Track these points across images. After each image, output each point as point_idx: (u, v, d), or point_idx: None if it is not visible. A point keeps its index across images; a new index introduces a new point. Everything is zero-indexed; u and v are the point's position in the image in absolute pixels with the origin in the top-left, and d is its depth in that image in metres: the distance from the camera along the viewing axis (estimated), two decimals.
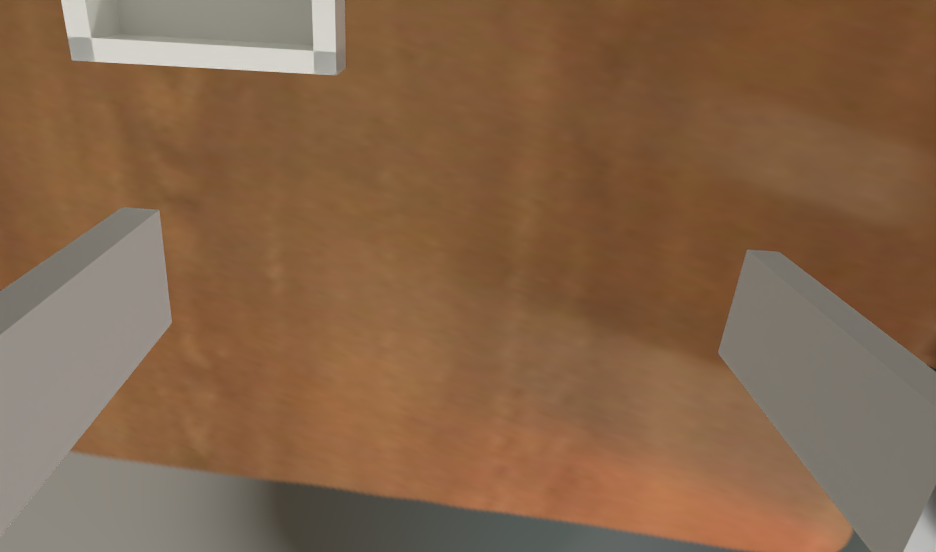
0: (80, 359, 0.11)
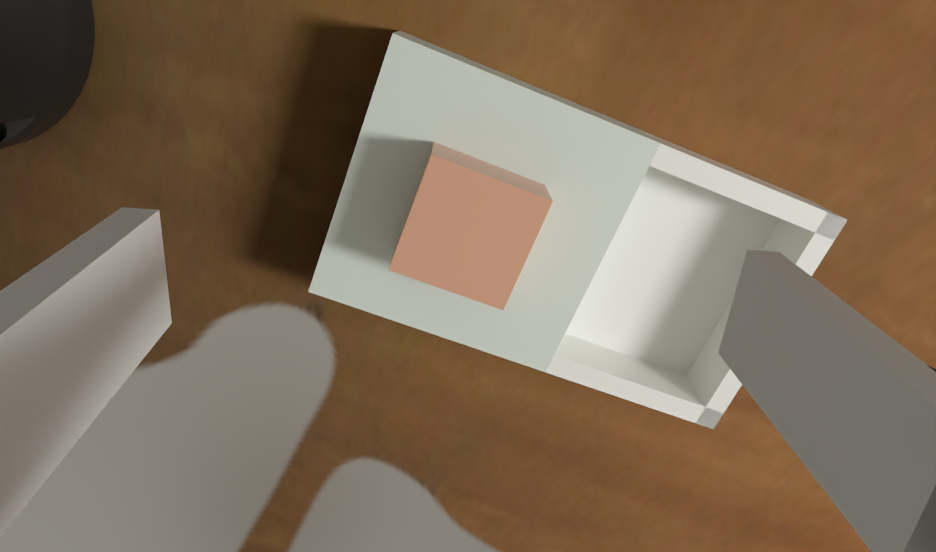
0: (80, 359, 0.11)
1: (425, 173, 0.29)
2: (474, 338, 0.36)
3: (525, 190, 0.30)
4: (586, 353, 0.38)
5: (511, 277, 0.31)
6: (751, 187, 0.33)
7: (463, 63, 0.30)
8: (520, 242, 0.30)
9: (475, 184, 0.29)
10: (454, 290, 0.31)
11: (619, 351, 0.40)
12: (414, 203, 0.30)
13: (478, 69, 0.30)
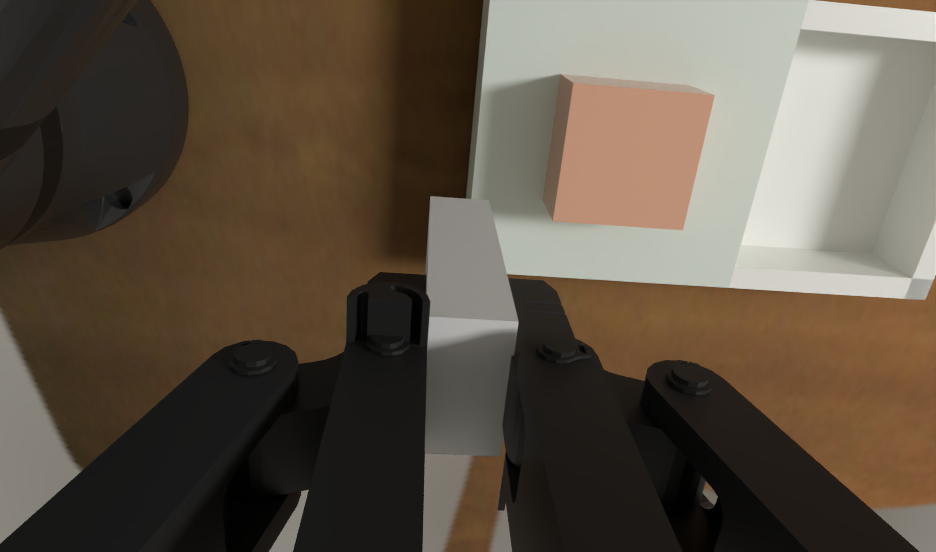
0: None
1: (571, 105, 0.27)
2: (646, 272, 0.33)
3: (682, 92, 0.27)
4: (763, 257, 0.35)
5: (685, 192, 0.28)
6: (922, 18, 0.29)
7: None
8: (687, 151, 0.28)
9: (626, 101, 0.27)
10: (626, 223, 0.29)
11: (792, 246, 0.37)
12: (566, 141, 0.27)
13: None
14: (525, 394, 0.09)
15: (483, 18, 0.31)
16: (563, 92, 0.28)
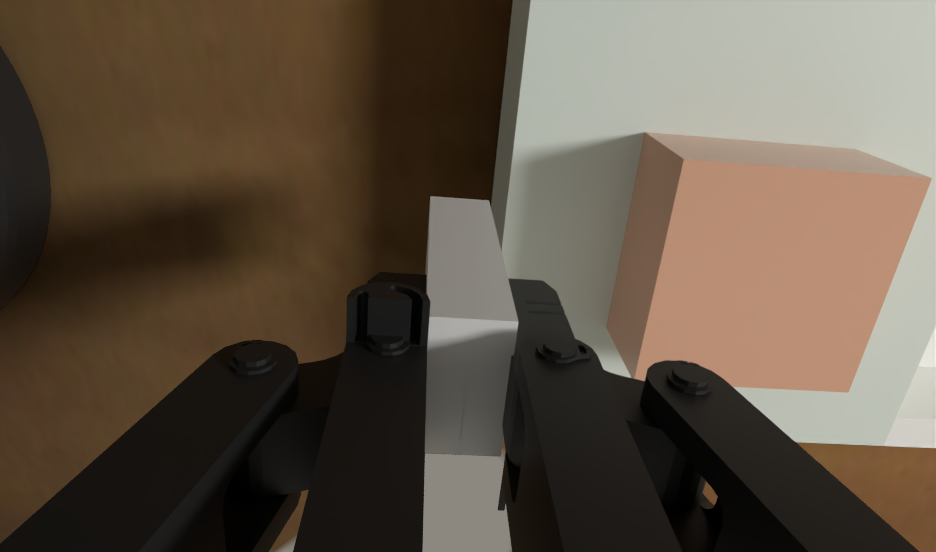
0: None
1: (677, 197, 0.15)
2: None
3: (874, 173, 0.15)
4: (927, 391, 0.23)
5: (859, 335, 0.17)
6: None
7: None
8: (871, 271, 0.16)
9: (776, 189, 0.15)
10: (756, 383, 0.17)
11: None
12: (664, 257, 0.16)
13: None
14: (525, 394, 0.09)
15: (513, 37, 0.19)
16: (654, 166, 0.16)
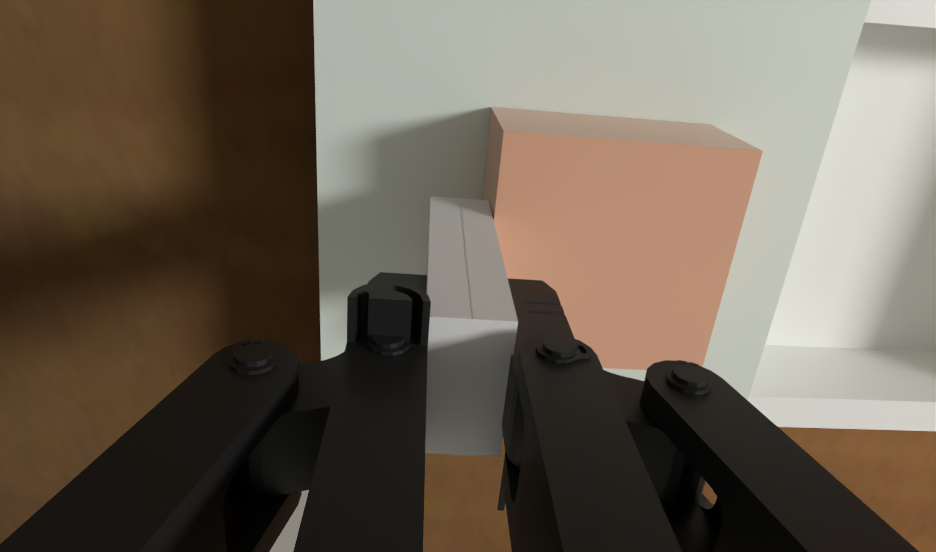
0: None
1: (501, 171, 0.15)
2: None
3: (703, 146, 0.15)
4: (791, 370, 0.23)
5: (706, 313, 0.16)
6: None
7: None
8: (711, 247, 0.16)
9: (603, 163, 0.15)
10: (605, 363, 0.17)
11: (832, 345, 0.25)
12: None
13: None
14: (525, 394, 0.09)
15: None
16: (493, 141, 0.16)
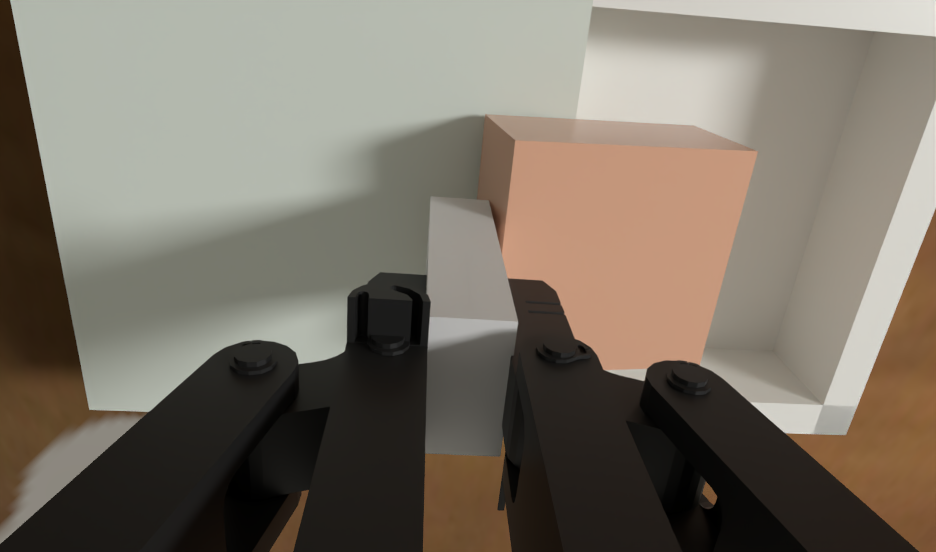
0: None
1: (513, 181, 0.14)
2: None
3: (704, 148, 0.15)
4: None
5: (704, 309, 0.17)
6: None
7: None
8: (710, 246, 0.16)
9: (611, 168, 0.15)
10: (611, 365, 0.17)
11: None
12: (505, 243, 0.15)
13: None
14: (525, 394, 0.09)
15: None
16: (493, 150, 0.16)
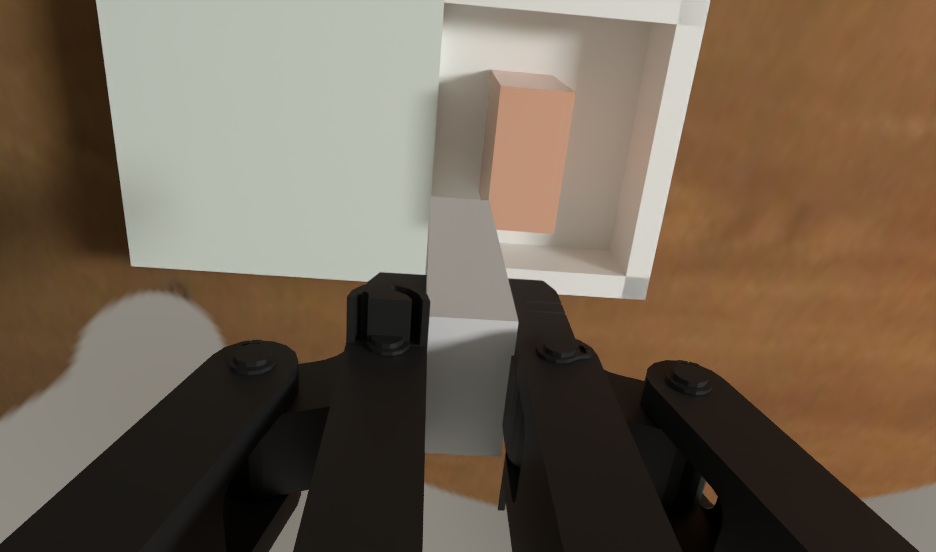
0: None
1: None
2: (330, 268, 0.31)
3: (555, 78, 0.30)
4: None
5: None
6: None
7: None
8: None
9: None
10: None
11: (521, 242, 0.34)
12: (565, 152, 0.27)
13: None
14: (525, 394, 0.09)
15: None
16: (530, 104, 0.26)
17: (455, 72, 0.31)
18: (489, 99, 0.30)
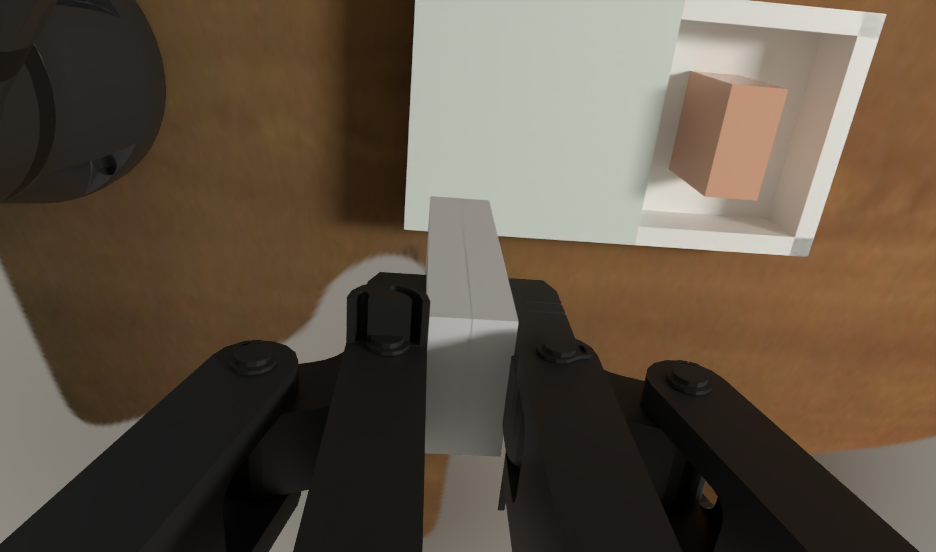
0: None
1: None
2: (561, 231, 0.38)
3: (747, 78, 0.37)
4: (668, 219, 0.40)
5: None
6: (784, 9, 0.34)
7: None
8: None
9: None
10: None
11: (697, 212, 0.42)
12: (774, 136, 0.34)
13: None
14: (525, 394, 0.09)
15: None
16: (753, 98, 0.33)
17: None
18: (691, 94, 0.38)
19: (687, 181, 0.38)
